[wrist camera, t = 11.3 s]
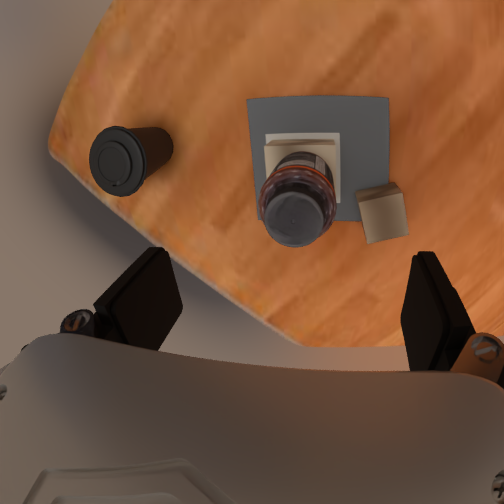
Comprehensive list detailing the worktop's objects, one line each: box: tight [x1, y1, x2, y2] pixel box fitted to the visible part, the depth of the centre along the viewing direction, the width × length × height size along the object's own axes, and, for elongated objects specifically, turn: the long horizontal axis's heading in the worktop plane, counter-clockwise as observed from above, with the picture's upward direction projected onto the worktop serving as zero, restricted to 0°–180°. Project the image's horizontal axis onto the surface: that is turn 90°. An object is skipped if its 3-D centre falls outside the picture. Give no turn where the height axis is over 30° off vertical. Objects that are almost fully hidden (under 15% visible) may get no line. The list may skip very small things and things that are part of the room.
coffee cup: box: [89, 126, 173, 197], centre depth 33 cm, size 8×8×10 cm
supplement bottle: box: [258, 151, 337, 247], centre depth 25 cm, size 6×6×11 cm
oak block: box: [355, 183, 409, 244], centre depth 32 cm, size 5×5×4 cm
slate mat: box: [247, 96, 389, 221], centre depth 33 cm, size 16×15×1 cm
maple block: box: [264, 139, 336, 194], centre depth 32 cm, size 7×7×5 cm
